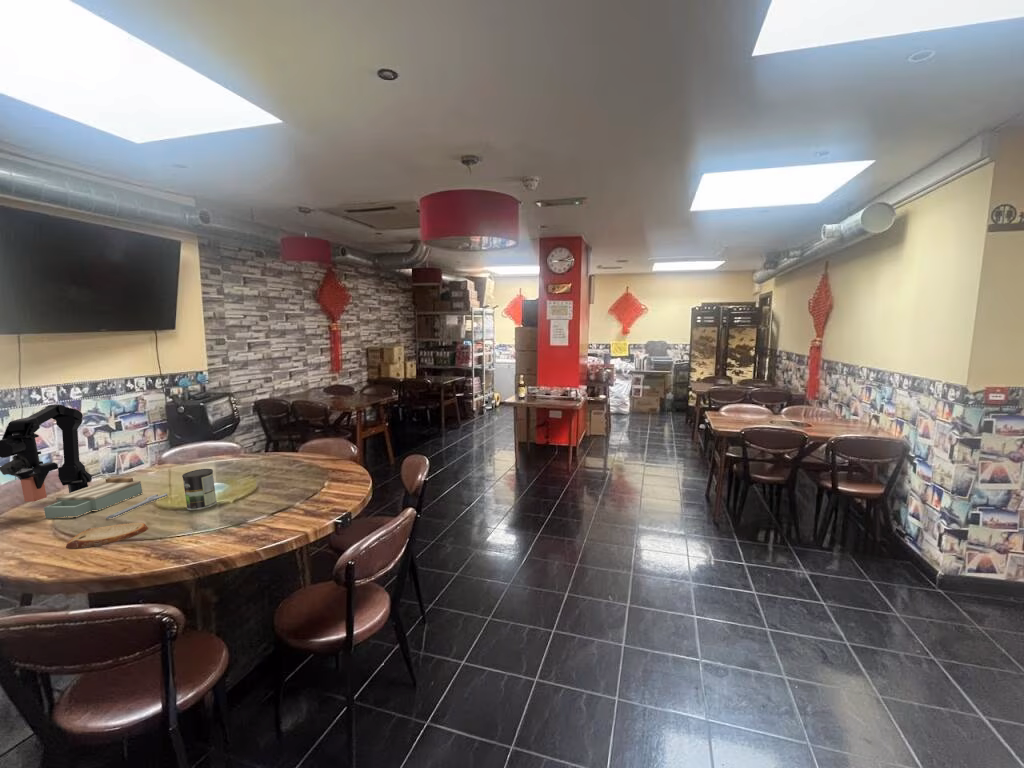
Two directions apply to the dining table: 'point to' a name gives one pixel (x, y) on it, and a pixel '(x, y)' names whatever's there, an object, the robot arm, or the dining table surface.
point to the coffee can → (199, 489)
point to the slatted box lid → (100, 489)
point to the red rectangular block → (32, 490)
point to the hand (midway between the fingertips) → (34, 488)
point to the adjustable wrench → (137, 505)
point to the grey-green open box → (89, 503)
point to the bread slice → (106, 535)
